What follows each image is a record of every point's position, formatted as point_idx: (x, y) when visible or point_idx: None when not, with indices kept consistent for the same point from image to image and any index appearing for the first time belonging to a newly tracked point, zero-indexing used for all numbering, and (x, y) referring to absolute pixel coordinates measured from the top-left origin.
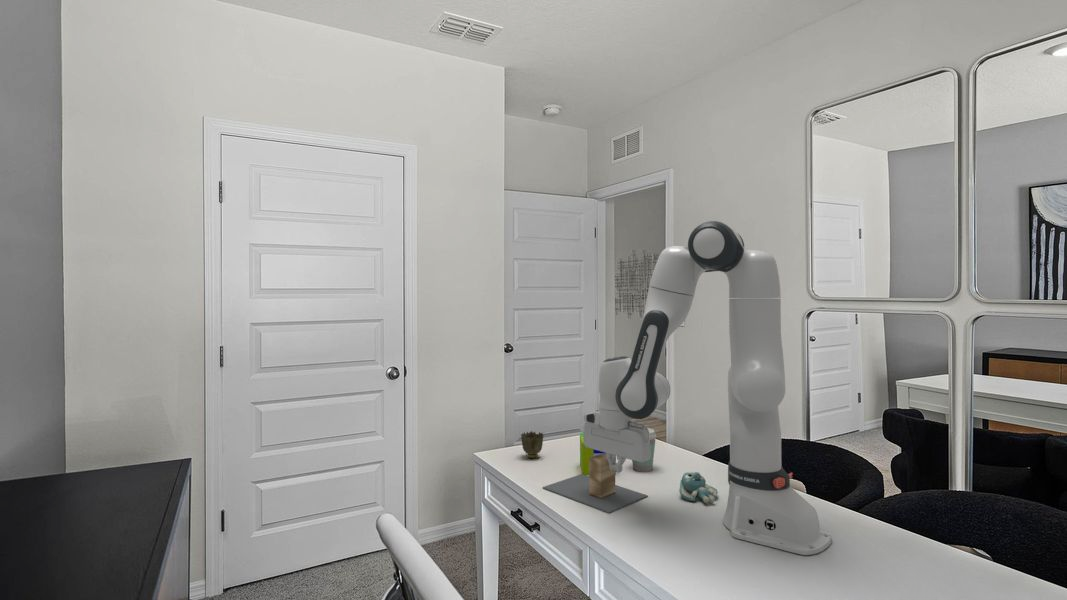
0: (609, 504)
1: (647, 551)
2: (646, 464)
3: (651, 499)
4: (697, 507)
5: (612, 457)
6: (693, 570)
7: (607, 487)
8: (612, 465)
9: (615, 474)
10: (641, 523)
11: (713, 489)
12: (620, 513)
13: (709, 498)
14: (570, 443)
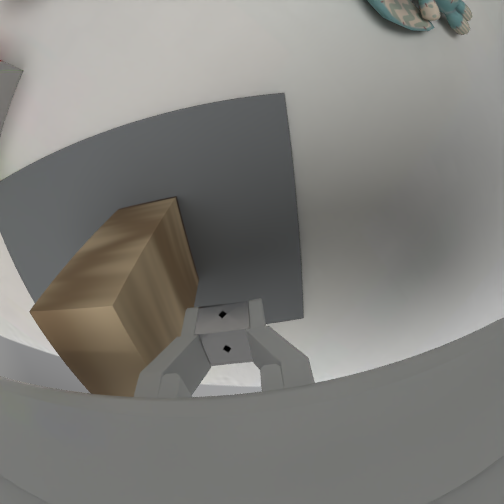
0: (258, 285)
1: (447, 338)
2: None
3: (312, 103)
4: (449, 60)
5: (175, 372)
6: (499, 314)
7: (182, 263)
8: (221, 360)
9: (20, 71)
10: (402, 283)
11: None
12: (324, 289)
13: (463, 16)
14: None
